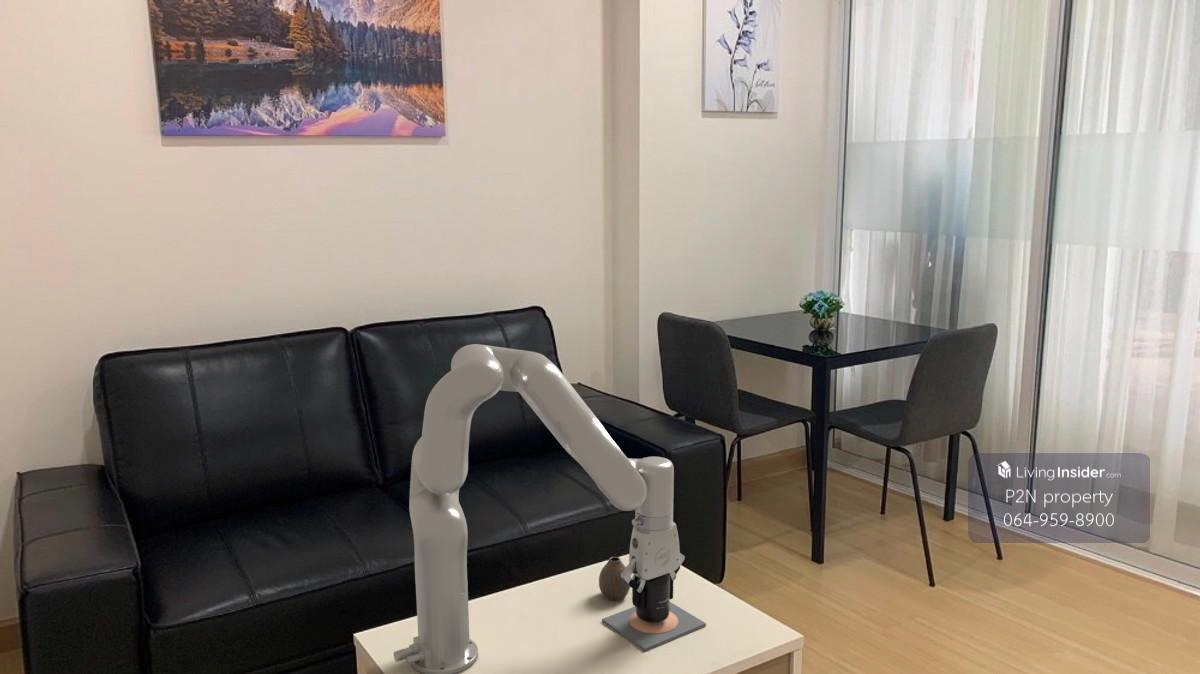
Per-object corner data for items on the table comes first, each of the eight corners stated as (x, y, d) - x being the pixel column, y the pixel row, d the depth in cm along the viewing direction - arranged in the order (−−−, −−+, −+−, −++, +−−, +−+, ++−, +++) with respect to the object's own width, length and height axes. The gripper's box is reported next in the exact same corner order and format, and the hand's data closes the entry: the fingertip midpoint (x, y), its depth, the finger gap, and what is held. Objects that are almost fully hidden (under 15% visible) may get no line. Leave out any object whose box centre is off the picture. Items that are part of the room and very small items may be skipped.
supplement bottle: (667, 625, 170) (668, 569, 168) (633, 622, 172) (633, 566, 169) (671, 608, 177) (672, 554, 175) (638, 605, 178) (639, 551, 176)
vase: (594, 601, 184) (594, 563, 182) (604, 587, 190) (604, 550, 189) (625, 606, 182) (625, 567, 180) (634, 591, 188) (634, 554, 187)
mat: (644, 651, 164) (644, 647, 164) (601, 621, 176) (601, 618, 175) (705, 625, 174) (706, 622, 174) (661, 599, 185) (661, 595, 185)
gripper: (631, 535, 162) (630, 622, 166) (699, 515, 172) (697, 597, 176) (608, 523, 168) (607, 606, 172) (674, 503, 178) (673, 583, 182)
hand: (652, 601), depth 174 cm, fingers closed on supplement bottle, 6 cm apart
